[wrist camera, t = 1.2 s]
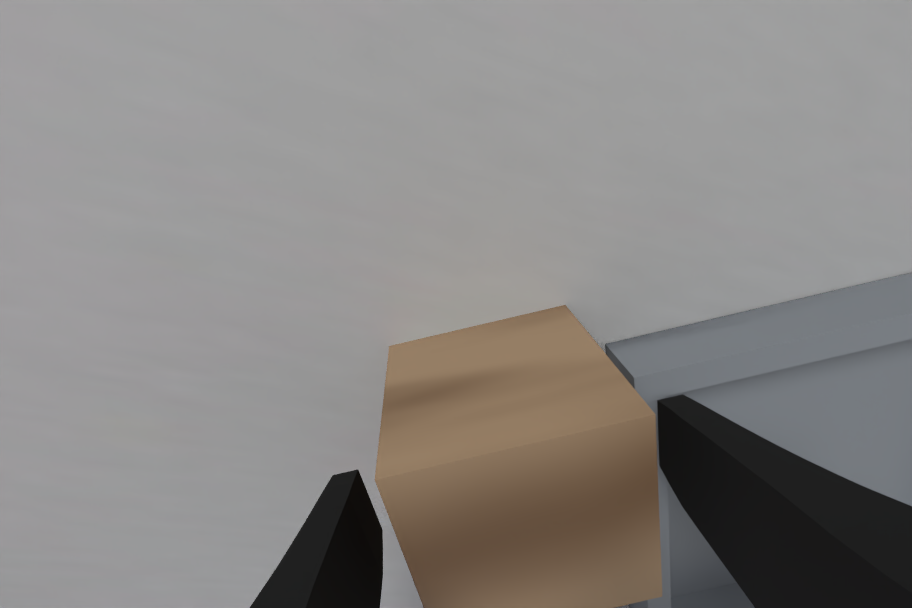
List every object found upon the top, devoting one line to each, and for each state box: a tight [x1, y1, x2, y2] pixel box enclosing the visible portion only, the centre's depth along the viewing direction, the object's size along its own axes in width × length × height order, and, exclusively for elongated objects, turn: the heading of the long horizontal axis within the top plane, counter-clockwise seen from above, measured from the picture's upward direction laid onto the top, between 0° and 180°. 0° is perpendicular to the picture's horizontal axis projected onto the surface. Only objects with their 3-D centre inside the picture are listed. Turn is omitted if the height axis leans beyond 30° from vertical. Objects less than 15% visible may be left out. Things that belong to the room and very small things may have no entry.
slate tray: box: [605, 273, 912, 608], centre depth 14 cm, size 12×12×2 cm
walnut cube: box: [375, 305, 662, 608], centre depth 11 cm, size 5×5×5 cm
